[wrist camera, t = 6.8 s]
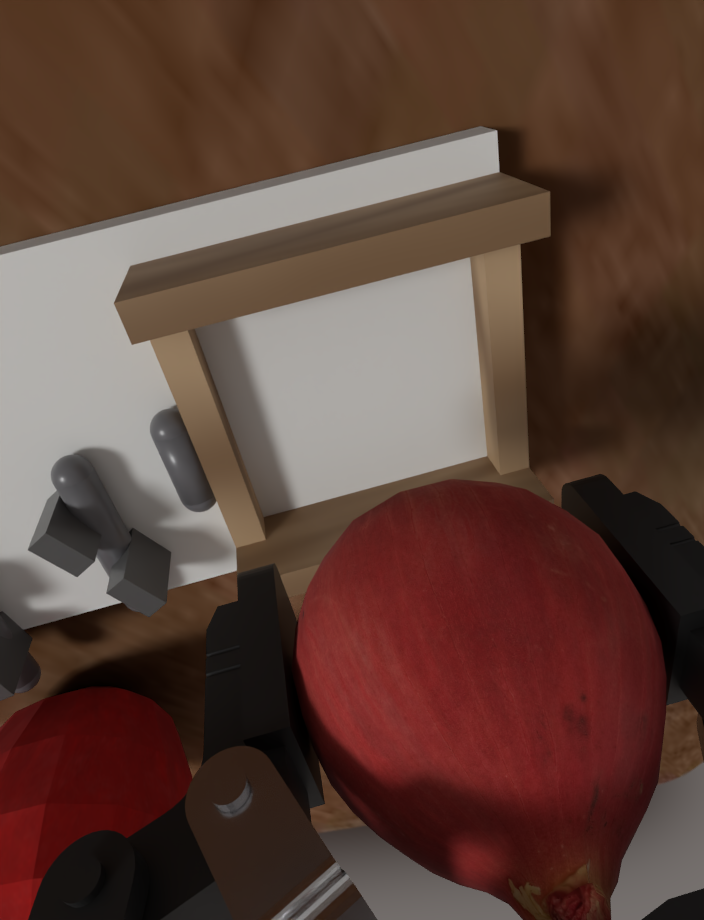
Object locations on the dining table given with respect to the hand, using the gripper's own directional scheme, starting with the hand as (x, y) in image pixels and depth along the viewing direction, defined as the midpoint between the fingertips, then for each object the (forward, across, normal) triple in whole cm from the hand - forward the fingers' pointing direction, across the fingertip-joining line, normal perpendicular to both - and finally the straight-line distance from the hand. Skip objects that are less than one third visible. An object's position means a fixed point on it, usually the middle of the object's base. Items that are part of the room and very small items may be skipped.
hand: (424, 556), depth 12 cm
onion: (+1, 0, 0) cm, 1 cm away
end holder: (+8, 0, 0) cm, 8 cm away
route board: (+9, +7, +1) cm, 12 cm away
